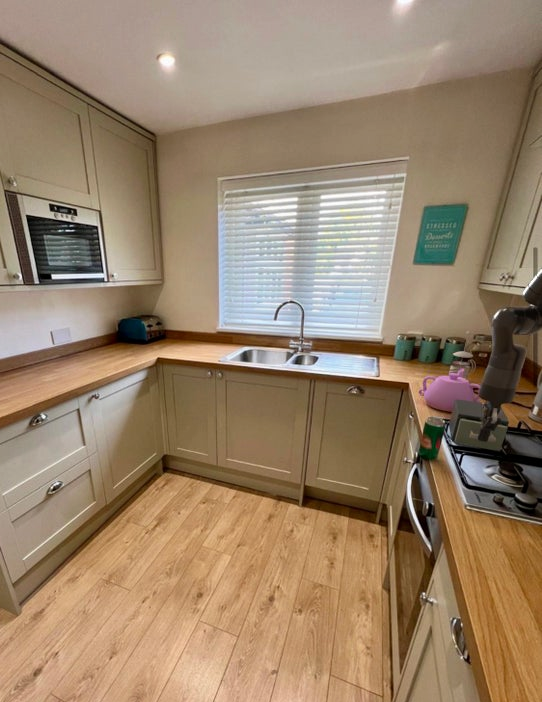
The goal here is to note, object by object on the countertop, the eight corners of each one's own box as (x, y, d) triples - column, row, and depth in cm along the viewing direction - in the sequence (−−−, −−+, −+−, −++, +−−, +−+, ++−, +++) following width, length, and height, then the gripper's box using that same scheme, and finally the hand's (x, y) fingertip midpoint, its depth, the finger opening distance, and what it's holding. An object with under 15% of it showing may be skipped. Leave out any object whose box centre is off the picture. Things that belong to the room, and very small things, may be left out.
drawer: (502, 458, 95) (510, 433, 92) (455, 448, 100) (461, 425, 97) (492, 433, 109) (499, 411, 106) (452, 426, 114) (457, 405, 111)
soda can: (413, 453, 99) (421, 416, 95) (429, 452, 100) (438, 415, 96) (424, 461, 95) (433, 424, 90) (441, 460, 95) (451, 423, 91)
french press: (454, 378, 169) (467, 328, 160) (476, 385, 158) (491, 332, 149) (440, 380, 166) (451, 330, 157) (461, 387, 155) (475, 334, 147)
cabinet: (499, 450, 100) (509, 421, 97) (451, 441, 106) (458, 413, 103) (492, 431, 112) (500, 405, 109) (448, 424, 118) (455, 399, 115)
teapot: (485, 404, 135) (495, 372, 130) (474, 420, 120) (484, 384, 115) (426, 392, 149) (432, 362, 144) (410, 405, 135) (416, 372, 130)
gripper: (523, 392, 81) (502, 453, 88) (511, 378, 92) (494, 433, 98) (486, 387, 85) (469, 447, 91) (479, 374, 96) (464, 428, 102)
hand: (482, 440), depth 95 cm, fingers closed
